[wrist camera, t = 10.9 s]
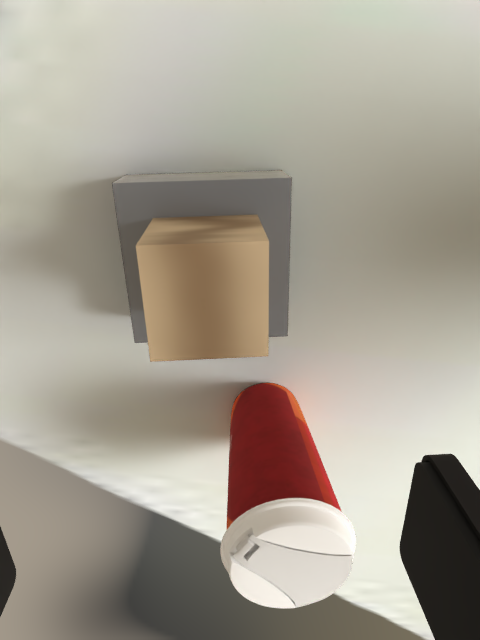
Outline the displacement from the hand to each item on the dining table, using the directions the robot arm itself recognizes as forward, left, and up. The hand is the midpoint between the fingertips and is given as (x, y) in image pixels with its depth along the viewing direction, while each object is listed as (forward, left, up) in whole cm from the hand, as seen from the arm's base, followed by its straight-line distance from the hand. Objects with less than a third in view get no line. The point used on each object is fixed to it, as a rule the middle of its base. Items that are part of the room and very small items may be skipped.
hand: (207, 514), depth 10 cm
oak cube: (0, 0, -18) cm, 18 cm away
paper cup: (-4, +14, -22) cm, 27 cm away
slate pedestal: (0, 0, -22) cm, 22 cm away
